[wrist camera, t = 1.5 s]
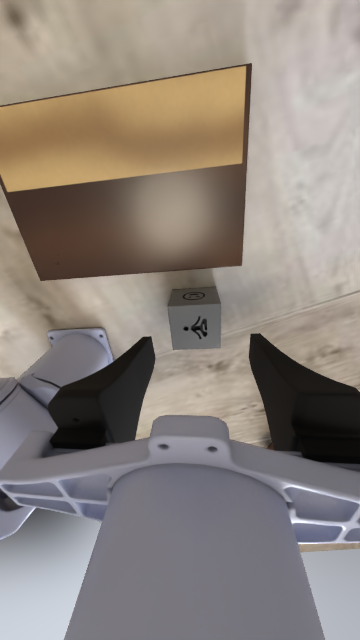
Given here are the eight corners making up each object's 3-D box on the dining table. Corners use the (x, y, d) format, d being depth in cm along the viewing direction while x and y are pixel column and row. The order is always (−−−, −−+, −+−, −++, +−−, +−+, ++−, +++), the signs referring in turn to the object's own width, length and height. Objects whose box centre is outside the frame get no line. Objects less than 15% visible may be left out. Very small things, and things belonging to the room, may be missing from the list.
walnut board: (238, 262, 22) (241, 265, 20) (48, 277, 24) (40, 280, 22) (247, 75, 15) (252, 62, 14) (-14, 118, 17) (-31, 110, 16)
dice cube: (216, 324, 25) (220, 348, 21) (176, 326, 26) (172, 349, 21) (215, 286, 23) (220, 303, 19) (172, 289, 23) (167, 306, 19)
